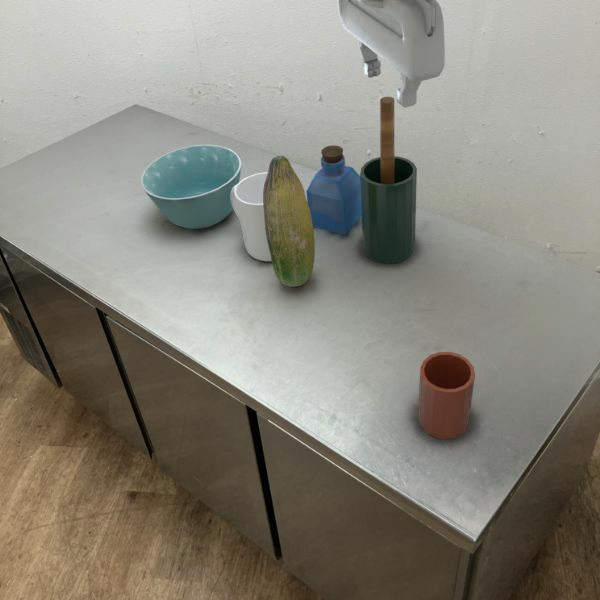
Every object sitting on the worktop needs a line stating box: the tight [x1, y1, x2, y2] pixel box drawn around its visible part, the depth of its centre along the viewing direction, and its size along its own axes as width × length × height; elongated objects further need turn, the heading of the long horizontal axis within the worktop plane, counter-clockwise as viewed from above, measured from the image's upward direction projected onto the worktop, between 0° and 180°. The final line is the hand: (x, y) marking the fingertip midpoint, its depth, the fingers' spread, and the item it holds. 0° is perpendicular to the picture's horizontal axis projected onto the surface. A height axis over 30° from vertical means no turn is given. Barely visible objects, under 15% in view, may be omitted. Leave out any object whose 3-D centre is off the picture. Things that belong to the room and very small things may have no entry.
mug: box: [230, 171, 272, 262], centre depth 95 cm, size 12×8×10 cm
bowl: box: [140, 144, 242, 230], centre depth 103 cm, size 16×16×8 cm
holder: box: [417, 351, 476, 440], centre depth 69 cm, size 5×5×8 cm
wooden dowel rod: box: [379, 96, 395, 184], centre depth 86 cm, size 3×3×22 cm
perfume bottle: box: [305, 144, 362, 236], centre depth 97 cm, size 6×6×12 cm
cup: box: [359, 155, 418, 265], centre depth 90 cm, size 7×8×13 cm
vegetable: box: [263, 155, 316, 288], centre depth 83 cm, size 6×6×20 cm
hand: (388, 88), depth 78 cm, fingers open, 8 cm apart
